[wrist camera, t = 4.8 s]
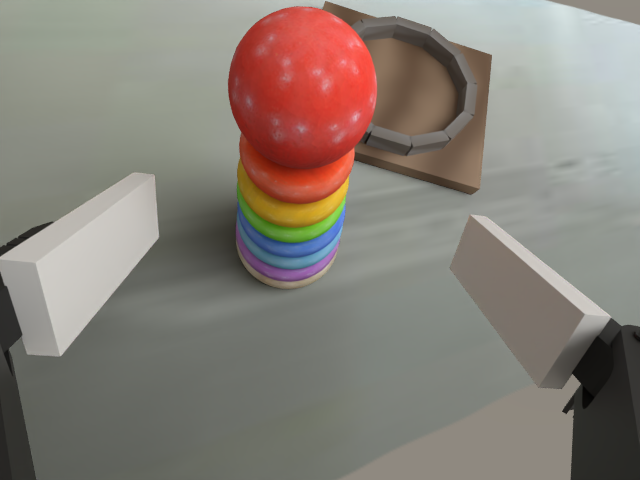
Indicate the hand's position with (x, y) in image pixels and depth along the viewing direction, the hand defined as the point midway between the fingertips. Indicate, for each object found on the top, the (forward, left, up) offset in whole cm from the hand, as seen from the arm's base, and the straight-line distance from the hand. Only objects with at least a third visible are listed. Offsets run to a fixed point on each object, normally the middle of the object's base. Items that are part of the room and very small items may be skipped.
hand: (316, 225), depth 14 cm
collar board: (+5, +20, -13) cm, 24 cm away
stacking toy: (-1, +3, -13) cm, 13 cm away
